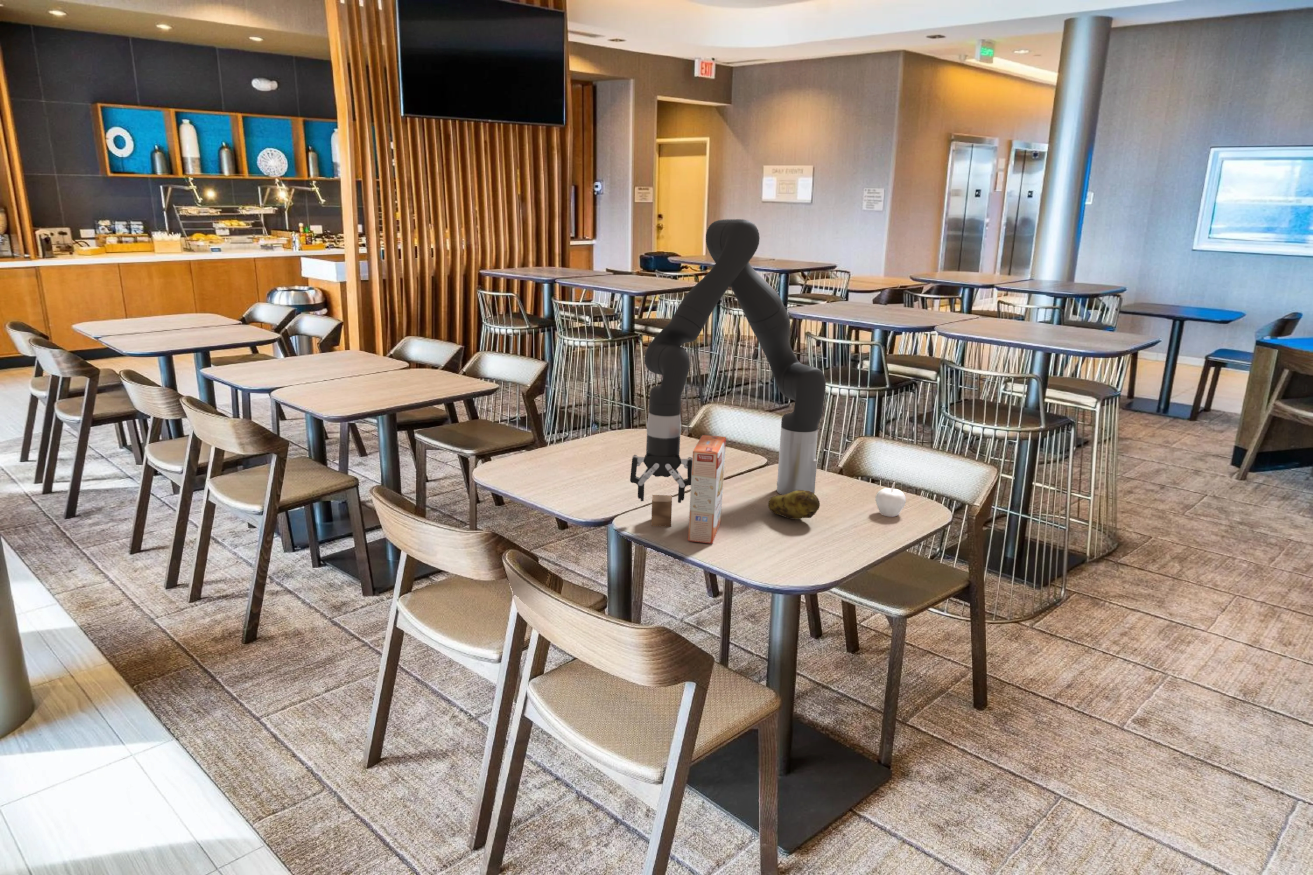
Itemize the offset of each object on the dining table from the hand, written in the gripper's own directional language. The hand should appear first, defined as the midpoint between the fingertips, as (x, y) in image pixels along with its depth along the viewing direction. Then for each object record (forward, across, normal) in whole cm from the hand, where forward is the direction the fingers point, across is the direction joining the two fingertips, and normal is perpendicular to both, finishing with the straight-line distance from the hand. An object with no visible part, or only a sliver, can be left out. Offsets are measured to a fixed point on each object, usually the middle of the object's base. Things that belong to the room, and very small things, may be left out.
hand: (660, 501), depth 199 cm
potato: (+5, -31, -5) cm, 32 cm away
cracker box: (+5, -10, +5) cm, 13 cm away
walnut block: (+5, 0, 0) cm, 5 cm away
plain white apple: (+5, -55, -11) cm, 57 cm away
